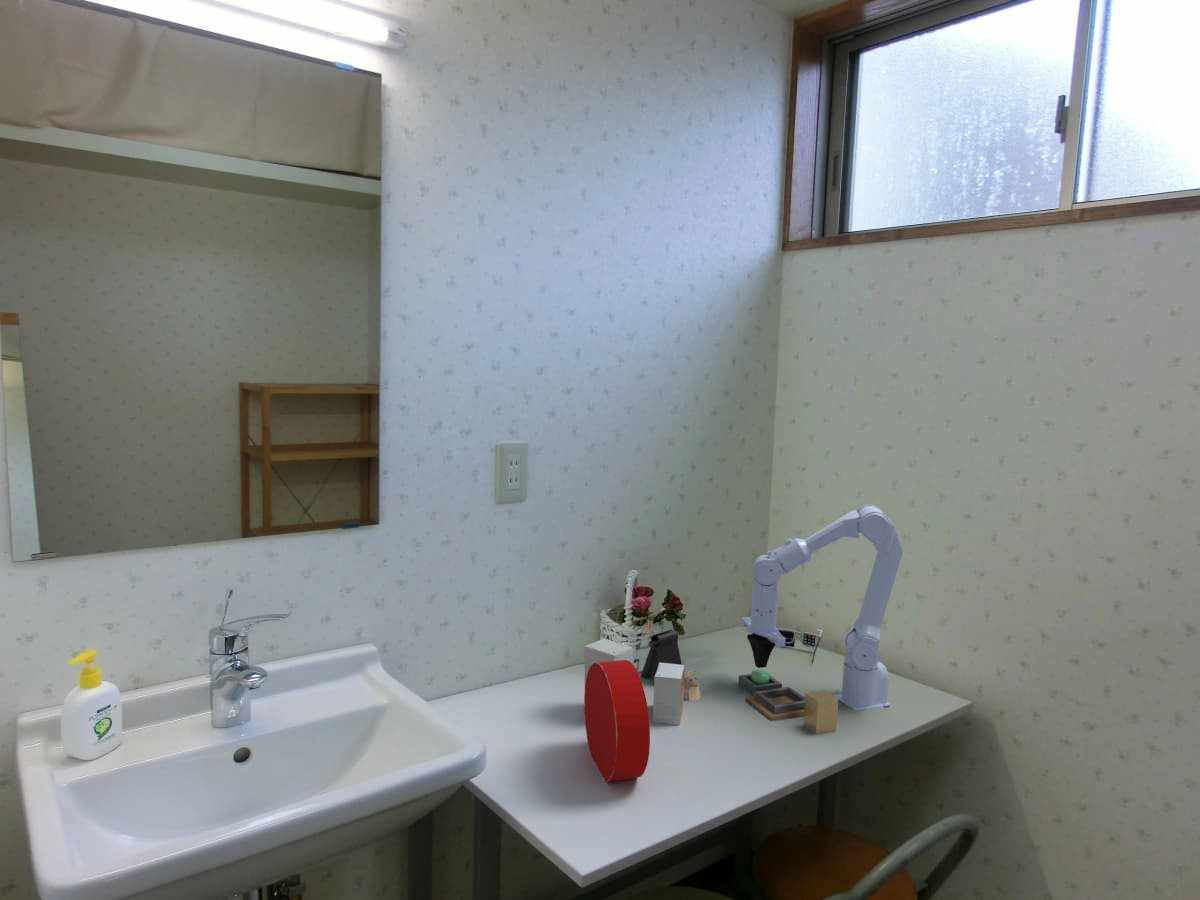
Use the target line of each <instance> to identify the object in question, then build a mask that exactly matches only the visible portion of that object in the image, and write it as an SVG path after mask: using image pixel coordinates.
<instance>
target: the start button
mask: <svg viewBox="0 0 1200 900" xmlns="http://www.w3.org/2000/svg"><path fill="white" fill-rule="evenodd" d="M751 674H752V675H751V681H752V682H753V683H754V684H756V685H762V684H769V675H770V673H769V672H768V671H766V670H763V669H753V670H752V671H751Z"/></svg>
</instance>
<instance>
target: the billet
mask: <svg viewBox="0 0 1200 900" xmlns="http://www.w3.org/2000/svg"><path fill="white" fill-rule="evenodd" d="M834 695H835V694H833V693H831V692H829V691H828V690H826V689H825V690H817V691H811V692H806V693H805V714H804V716H803V726H804V727H805V728H807V730H809V731H810V732H812V733H814V734H815V735H821V734H826V733H832V732H837V722H838V709H839V699H838V697H836V696H837V695H836V696H834Z"/></svg>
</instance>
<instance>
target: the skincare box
mask: <svg viewBox="0 0 1200 900" xmlns="http://www.w3.org/2000/svg"><path fill="white" fill-rule="evenodd" d="M633 648H634V647H632V646H629V645H626V644H623V643H619V642H616V641H613V640H610V639H608V638H602V639H600V640H597V641H594V642H592V643H589V644H587V645H584V649H583V650H584V684H585V683H586V677H587V673H588V670H589V668H590V666H591V665H592V664H593V663H595V662H607V661H619V660H628V661H630V662H631V663H632V664H633V665H634V663H633V662H634V661H633Z"/></svg>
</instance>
